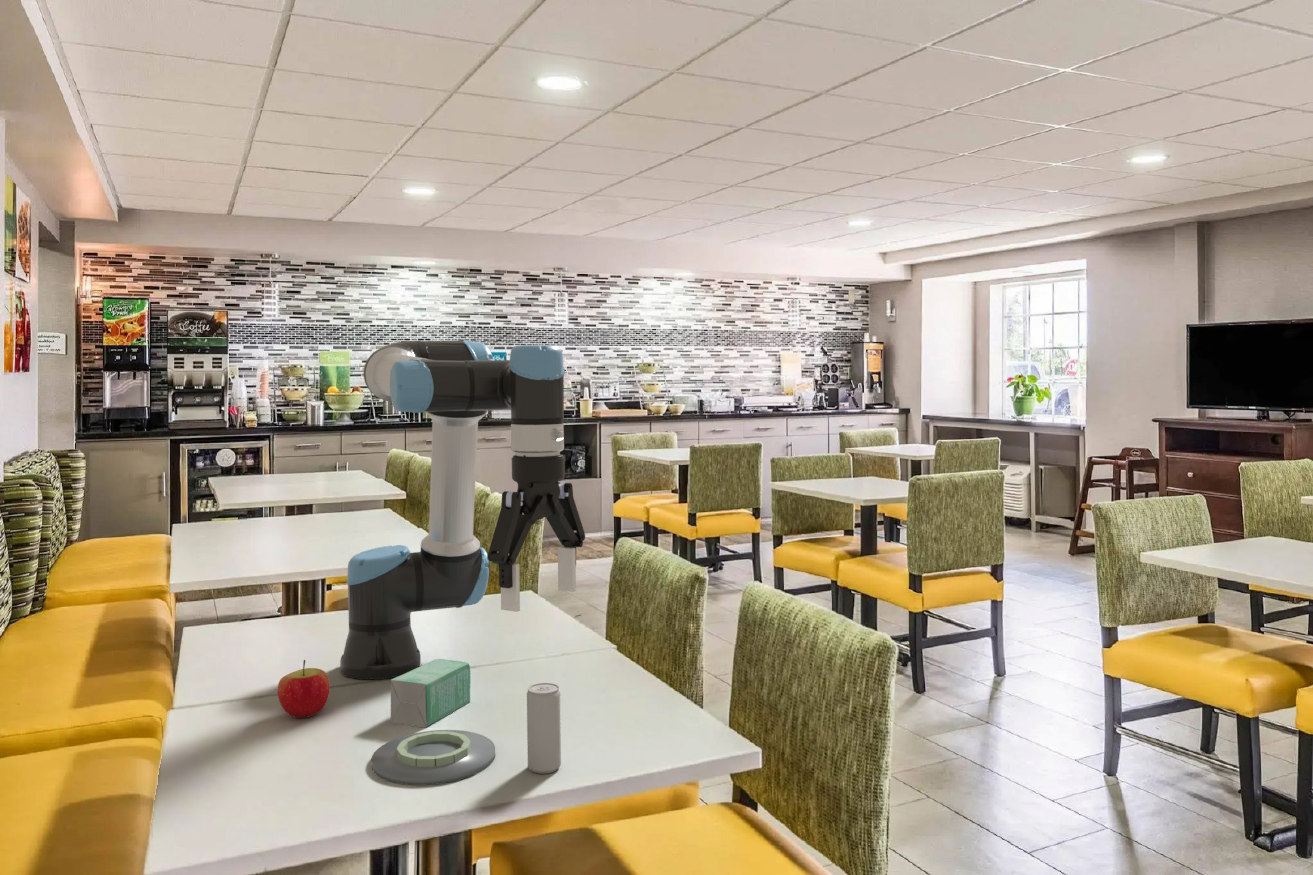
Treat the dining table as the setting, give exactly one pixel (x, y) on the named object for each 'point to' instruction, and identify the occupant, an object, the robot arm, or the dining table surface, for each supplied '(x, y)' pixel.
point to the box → (430, 692)
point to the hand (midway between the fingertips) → (539, 600)
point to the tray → (433, 757)
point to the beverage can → (543, 728)
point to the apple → (304, 692)
